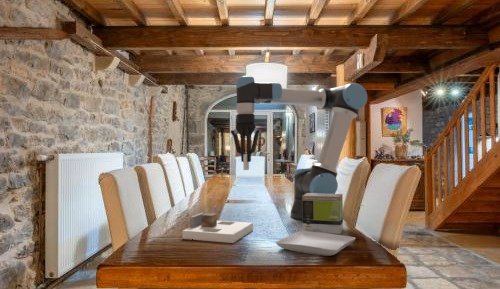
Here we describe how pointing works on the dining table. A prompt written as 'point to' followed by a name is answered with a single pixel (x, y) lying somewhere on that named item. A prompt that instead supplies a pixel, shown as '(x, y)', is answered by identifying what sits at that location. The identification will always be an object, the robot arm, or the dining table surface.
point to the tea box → (322, 213)
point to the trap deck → (216, 230)
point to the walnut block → (208, 220)
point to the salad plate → (315, 243)
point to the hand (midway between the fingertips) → (246, 169)
